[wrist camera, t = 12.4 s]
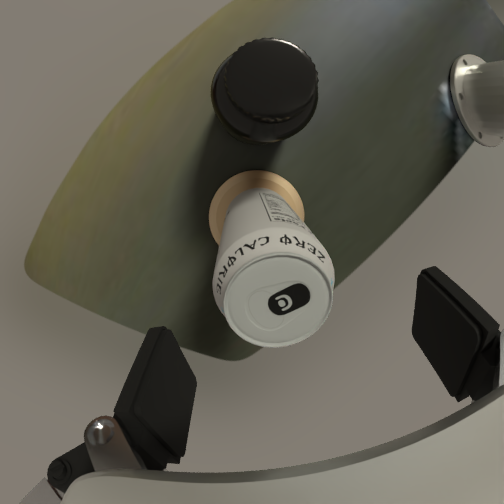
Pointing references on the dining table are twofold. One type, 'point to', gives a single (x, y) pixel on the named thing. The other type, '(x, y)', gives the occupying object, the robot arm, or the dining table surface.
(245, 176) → the coaster
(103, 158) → the dining table surface
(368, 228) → the dining table surface
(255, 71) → the supplement bottle
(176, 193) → the dining table surface
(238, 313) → the energy drink can
